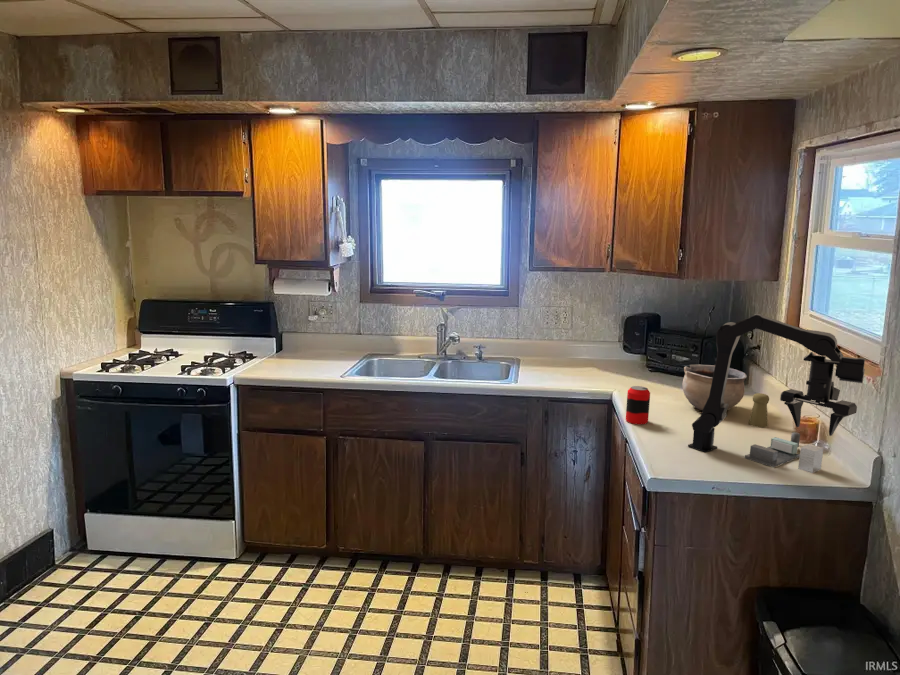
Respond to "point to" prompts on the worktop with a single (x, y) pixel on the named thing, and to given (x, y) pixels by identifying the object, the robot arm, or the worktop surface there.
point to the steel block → (810, 458)
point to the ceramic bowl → (700, 385)
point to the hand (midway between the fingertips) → (813, 431)
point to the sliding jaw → (786, 443)
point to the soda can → (637, 405)
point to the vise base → (769, 456)
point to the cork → (759, 410)
